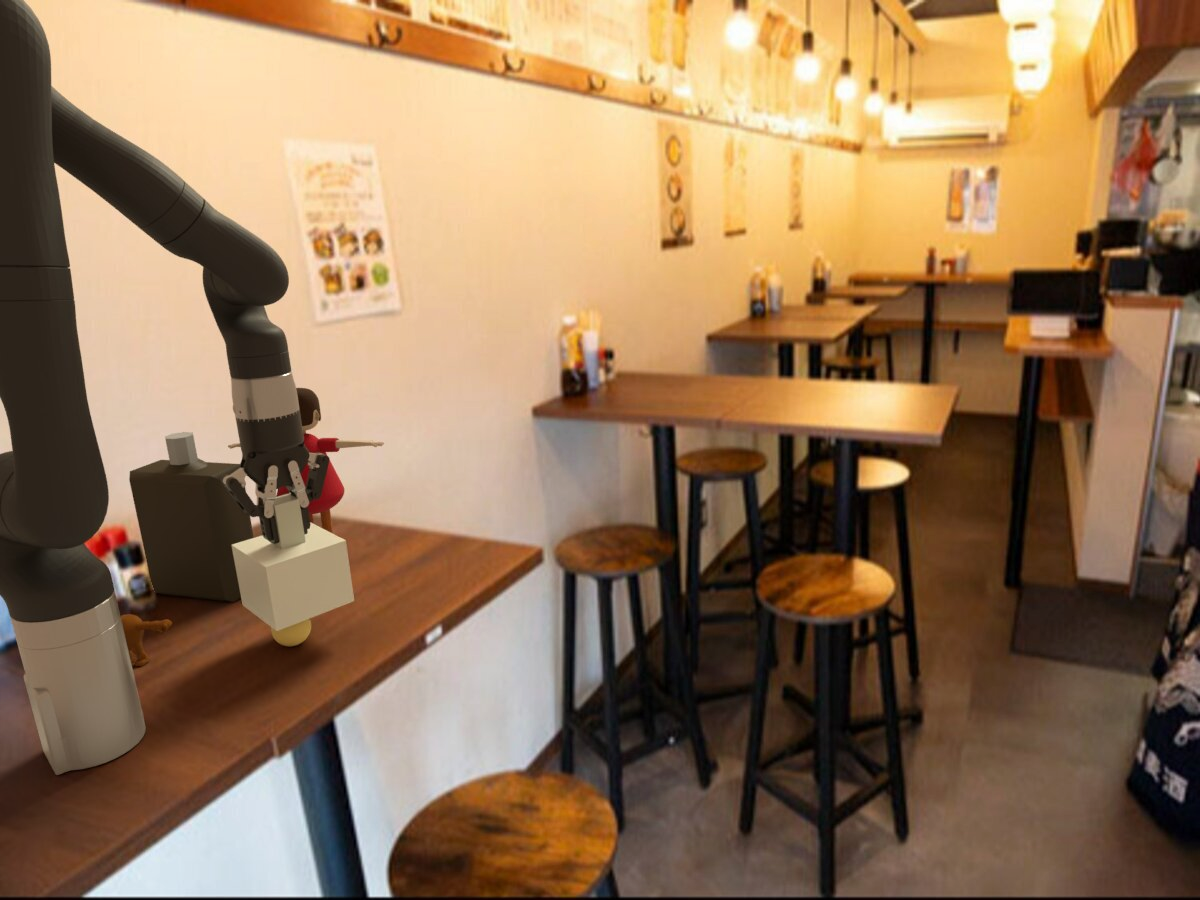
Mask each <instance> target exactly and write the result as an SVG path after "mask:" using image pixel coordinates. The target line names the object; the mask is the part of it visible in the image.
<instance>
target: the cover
mask: <svg viewBox="0 0 1200 900" xmlns="http://www.w3.org/2000/svg"><path fill="white" fill-rule="evenodd" d="M273 516H275V518H276V524H277V530H278V536H279V543H276V544H272V543H271V542H269V541H268V540H266V539H265V538H264V537H263V536H262V535H259V536H256V537H255V536H254V538H252V539H249V540H245V541H242V542H239V543H236V544H232V551H233V556H234V562H235V567H236V572H237V578H238V583H239V589H240V594H241V598H240V599H241V602H242V604H241V605H242V606H243V607H244V608H246V609H247V610H248V611H250V612H251V613H252V614H253V615H255V616H256V617H257V618H259V619H260V620H261V621H263V622H264V623H265V624H266V625H268V626H270V627H272V628H273V629H274V630H276V631H279V630H281V629H284V628H286V627H289V626H291V625H294V624H297V623H299V622H302V621H304V620H307V619H309V618H310V619H312V618H315V617H317V616H320V615H322V614H325V613H327V612H330V611H332V610H336V609H337V608H340V607H343V606H345V605H348V604H351V603H353V602H355V596H354V589H353V582H352V576H351V568H350V561H349V560H350V559H349V554H348V553H349V552H348V545H347V540H346V539H344V538H343V537H340V536H338V535H336V534H335V533H333V534H332V533H330V532H328V531H327V530H325V529H323V528H322V526H318V525H317V524H315V523H314V524H313V523H311V522H310V524H311V525H310V529H307V531H308V533H307V534H304V528H303V522H302V515H301V509H300V503H299V499H298V498H296V497H294V496H292V495H290V494H286V495H282V496H278V497H276V499H275V500H274V514H273ZM342 538H343V539H342Z"/></svg>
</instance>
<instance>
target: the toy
mask: <svg viewBox="0 0 1200 900" xmlns="http://www.w3.org/2000/svg"><path fill="white" fill-rule="evenodd" d="M296 390H297V396H298V402H299V409H300V415H301V422H302V428H303V435H304V445H305V447H306V448H307V449H308V451H309V452H310V453H316V452H318V453H322V454H324V455H326V456H328V453H338V452H339V451H340V450H341V449H344V448H345V449H347V448H348V449H349V448H357V447H370V446H371V447H374V448H377V447H382V446H383V445H384V444H385V443H384V442H383V441H374V440H350V439H349V440H348V439H347V440H343V439H339V438H337V437H317V436H316V435H314V434H311V433H308V432H307V431H310V430H312V429H314V428H315V427H316V426H317V425H318V424H319V422H321V420H322V414H321V406H320V405H321V404H320V400H319V398H318V396H317V394H316V393H315V391H313V390H312V389H310V388H306V387H296ZM227 448H229V449H231V450H232V449H235V448H241V446H240V442H237V443H232V444H229V445H227ZM309 470H310V468H309V467H308V461H307V463H306V465H305V467H304V469H303V472H302V474H301V477H302V480H303V483H304V485H305V486H306V482H307V478H308V474H309ZM286 494H289V491H288V489H287V488H286V487H285V486H282V487H280V488H279V489H277V490H276V497H278V496H282V495H286ZM344 496H345V487H344V484H343V483H342V481H341V479H340V477H339V475H338V473H337V471H336V469H335V467H334V465H333V464H332V461H331V460H330V461H329V465H328V469H327V473H326V477H325V482H324V486H323V490H322V494H321V497H320V498H319V499H314V500H313V501H311V502H310V503H309V505H308V511H309V518H310V522H311V523H313V524H315V523H314V517H313V515H317V514H319V515H320V522H321V528H323V529H325V530H327V531H328V532H330V533H332V534H334V529H333V522H332V515H331V509H332V508H334V507H335V506H337V505H338V503H339V502H340V501H342V499H343V498H344ZM341 538H342V539H344V538H343V537H341Z"/></svg>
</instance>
